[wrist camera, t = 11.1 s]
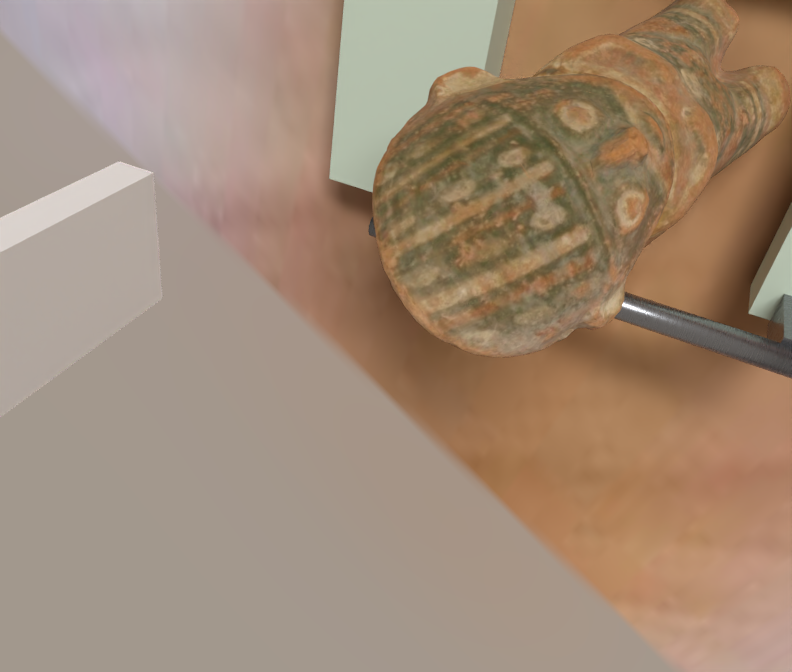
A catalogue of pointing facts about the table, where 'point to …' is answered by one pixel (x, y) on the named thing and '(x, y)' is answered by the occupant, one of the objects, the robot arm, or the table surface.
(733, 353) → the bar handle
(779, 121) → the figurine
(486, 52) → the pale green u-shaped slab
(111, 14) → the table surface
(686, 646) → the table surface
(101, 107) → the table surface
